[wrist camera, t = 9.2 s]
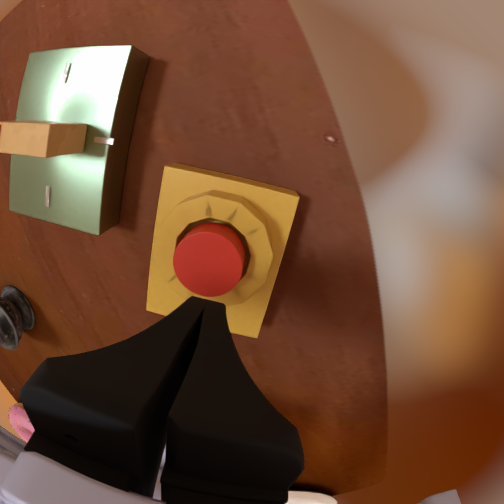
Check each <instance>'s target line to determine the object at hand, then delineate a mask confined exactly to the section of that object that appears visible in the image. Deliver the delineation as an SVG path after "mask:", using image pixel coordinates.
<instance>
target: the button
mask: <svg viewBox="0 0 504 504" xmlns="http://www.w3.org/2000/svg"><path fill="white" fill-rule="evenodd" d="M244 260H245V250H244V246H243V243H242V241H241V239H240V238H239V236H238V235H237V234H236V233H235V232H234V231H233V230H232V229H230V228H229V227H227V226H225V225H222V224H219V223H203V224H200V225H197V226H196V227H194V228H192V229H191V230H190V231H189V232H188V233H187V234H186V236H185V237H184V238H183V239H182V240H181V242H180V243H179V244H178V246H177V248H176V250H175V252H174V256H173V267H174V271H175V274H176V276H177V278H178V279H179V281H180V282H181V284H182V285H183V286H184V287H185V288H187V289H188V290H189V291H191V292H193V293H195V294H197V295H200V296H205V297H216V296H220V295H223V294H226V293H228V292H229V291H231V290H232V289H233V288H234V287H235V286H236V285H237V283H238V282H239V280H240V278H241V275H242V271H243V265H244Z"/></svg>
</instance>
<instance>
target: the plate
mask: <svg viewBox="0 0 504 504" xmlns="http://www.w3.org/2000/svg"><path fill="white" fill-rule="evenodd" d="M285 504H337V500H336V499H335V498H334V497H332V496H331V495H328V494H324V493H321V492H315V491H307V490H288V502H287V503H285Z"/></svg>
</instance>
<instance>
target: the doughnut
mask: <svg viewBox="0 0 504 504" xmlns="http://www.w3.org/2000/svg"><path fill="white" fill-rule="evenodd" d="M9 419H10V422H11V425H12V426H13V428H14V430H16V432H17V433H18V434H19V435H20V436H21V437H22V438H23V439H24V440H25V441H26V442H28V441H29V439H30V437H31V436H32V434H33V432H34V431H35V430H34V428H33V426H32V424H31V422H30V420H29V418H28V416H27V414H26V411H25V409H24V407H23V404H22V403H16V404H14V406H12V407H11V408H10V410H9Z"/></svg>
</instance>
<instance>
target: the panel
mask: <svg viewBox="0 0 504 504" xmlns="http://www.w3.org/2000/svg"><path fill="white" fill-rule="evenodd" d="M149 58H150V56H148V55H147V54H145V53H144V52H142V51H140V50H139V49H137V48H136V47H134V46H132V45H105V46H85V47H72V48H62V49H53V50H45V51H38V52H32V53H30V55H29V59H28V62H27V66H26V70H25V74H24V78H23V82H22V87H21V92H20V97H19V102H18V107H17V113H16V119H15V121H20V120H38V121H59V122H73V123H86V124H87V131H86V137H85V143H84V150H83V152H82V153H75V154H68V155H62V156H56V157H50V158H40V157H33V156H25V155H17V154H11V165H10V186H9V210H10V211H12V212H16V213H19V214H23V215H26V216H30V217H33V218H37V219H40V220H44V221H47V222H51V223H54V224H58V225H61V226H65V227H69V228H72V229H76V230H80V231H83V232H87V233H90V234H94V235H98V236H99V235H101V234H102V233H104V232H105V231H107V230H109V229H110V228H112V227H113V226H115V225H116V224H118V223H119V214H120V204H121V196H122V188H123V181H124V174H125V167H126V161H127V155H128V149H129V143H130V138H131V133H132V127H133V123H134V118H135V113H136V109H137V104H138V100H139V96H140V92H141V87H142V84H143V80H144V76H145V72H146V68H147V65H148V61H149Z"/></svg>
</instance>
